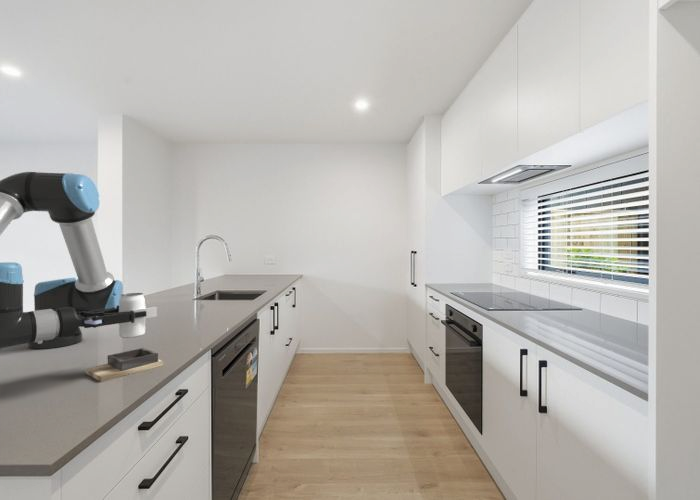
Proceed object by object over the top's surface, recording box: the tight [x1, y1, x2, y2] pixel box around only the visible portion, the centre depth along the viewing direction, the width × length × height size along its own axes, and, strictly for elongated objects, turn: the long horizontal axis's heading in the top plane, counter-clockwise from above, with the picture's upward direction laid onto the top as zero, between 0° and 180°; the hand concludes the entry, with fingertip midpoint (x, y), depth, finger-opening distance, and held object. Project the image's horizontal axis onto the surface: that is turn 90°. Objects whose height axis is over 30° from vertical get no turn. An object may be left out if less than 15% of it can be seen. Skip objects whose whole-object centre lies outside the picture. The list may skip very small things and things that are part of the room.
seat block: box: [84, 347, 164, 383], centre depth 103 cm, size 11×16×4 cm
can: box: [118, 292, 146, 339], centre depth 104 cm, size 6×6×12 cm
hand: (150, 310), depth 108 cm, fingers closed on can, 6 cm apart
